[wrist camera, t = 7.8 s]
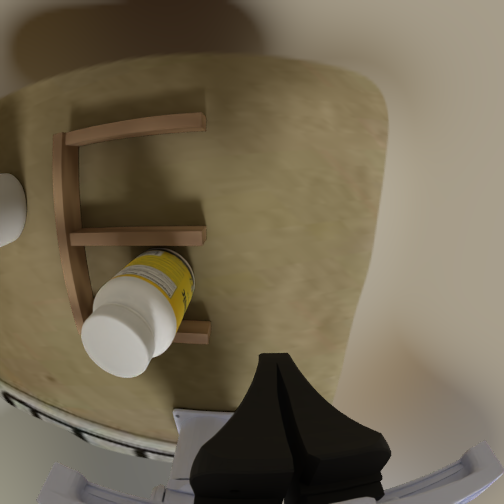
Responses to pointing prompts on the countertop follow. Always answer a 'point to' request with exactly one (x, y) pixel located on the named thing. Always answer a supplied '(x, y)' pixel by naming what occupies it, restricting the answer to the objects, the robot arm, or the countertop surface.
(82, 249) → the rack
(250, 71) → the countertop surface
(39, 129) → the countertop surface
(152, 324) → the supplement bottle
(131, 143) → the countertop surface
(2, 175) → the cup
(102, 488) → the robot arm
